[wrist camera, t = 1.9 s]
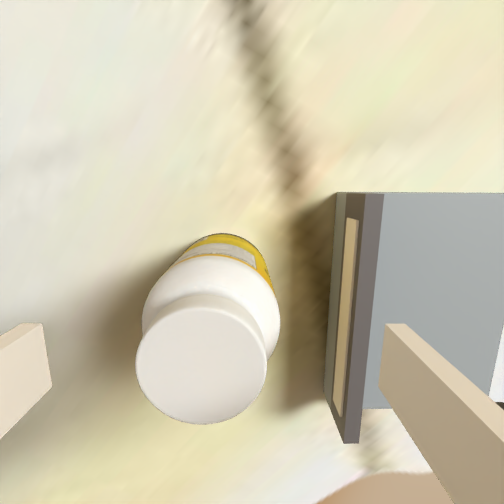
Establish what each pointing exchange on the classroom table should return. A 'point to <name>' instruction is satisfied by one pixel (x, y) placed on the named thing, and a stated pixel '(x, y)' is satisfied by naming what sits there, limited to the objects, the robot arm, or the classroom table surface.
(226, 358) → the pill bottle
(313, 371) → the classroom table surface
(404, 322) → the grey piece
